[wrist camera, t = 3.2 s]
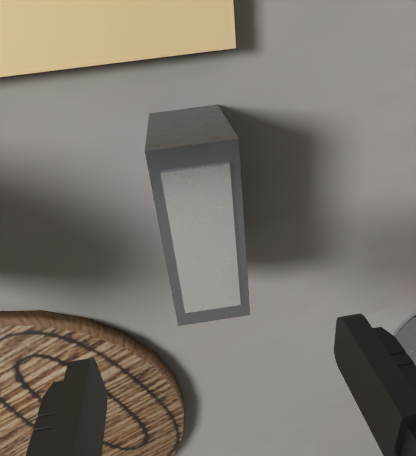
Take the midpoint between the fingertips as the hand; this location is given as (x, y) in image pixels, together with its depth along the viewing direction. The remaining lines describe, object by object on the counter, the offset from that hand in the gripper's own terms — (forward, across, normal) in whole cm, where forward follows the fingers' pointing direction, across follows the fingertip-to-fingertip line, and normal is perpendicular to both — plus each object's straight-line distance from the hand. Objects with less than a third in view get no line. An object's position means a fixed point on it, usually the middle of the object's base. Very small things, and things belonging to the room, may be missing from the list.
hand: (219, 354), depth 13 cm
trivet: (+14, +16, +20) cm, 29 cm away
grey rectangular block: (+14, 0, 0) cm, 14 cm away
